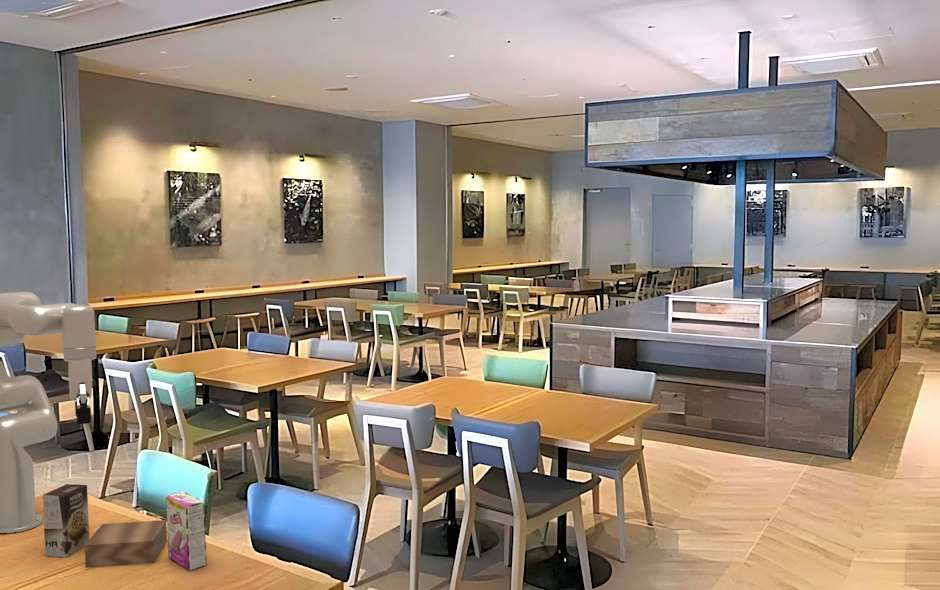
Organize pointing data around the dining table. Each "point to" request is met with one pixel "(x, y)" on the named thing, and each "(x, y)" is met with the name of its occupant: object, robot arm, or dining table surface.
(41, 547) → the dining table surface
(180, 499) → the candy bar box
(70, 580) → the dining table surface
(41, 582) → the dining table surface
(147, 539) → the walnut box
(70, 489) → the coffee box
